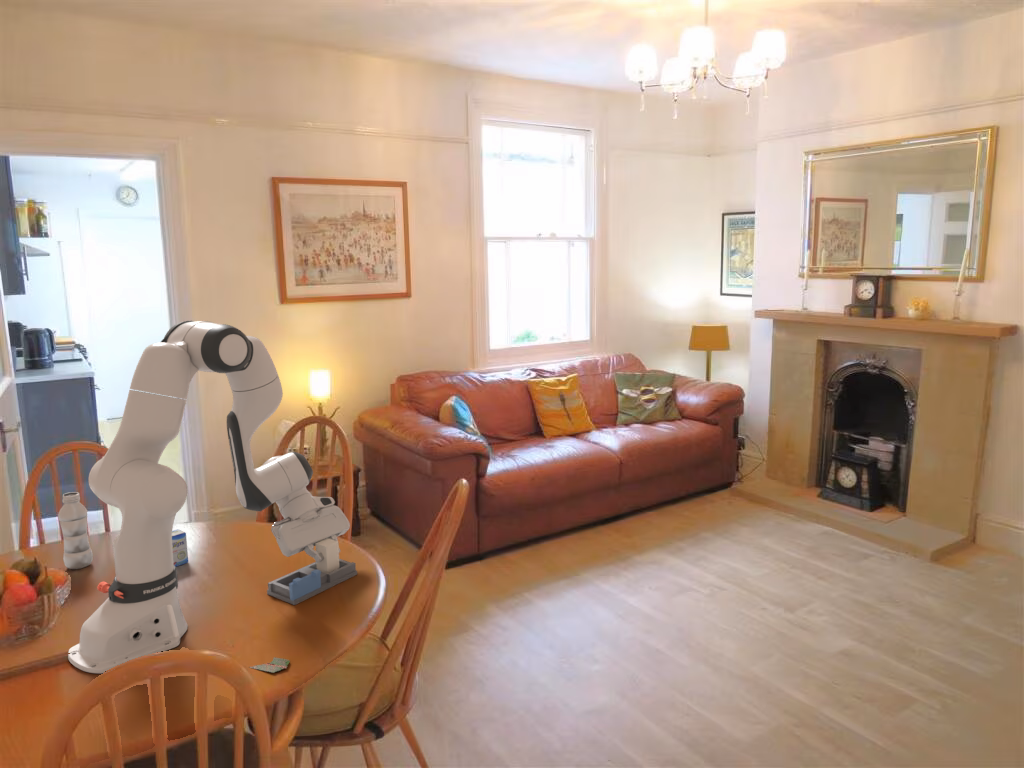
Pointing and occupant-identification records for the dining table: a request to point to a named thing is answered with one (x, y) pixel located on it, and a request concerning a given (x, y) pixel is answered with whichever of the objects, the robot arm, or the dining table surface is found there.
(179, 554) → the medicine box
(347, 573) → the two-compartment grey tray
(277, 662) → the map
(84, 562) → the plastic bottle
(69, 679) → the dining table surface
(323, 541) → the white rectangular block
